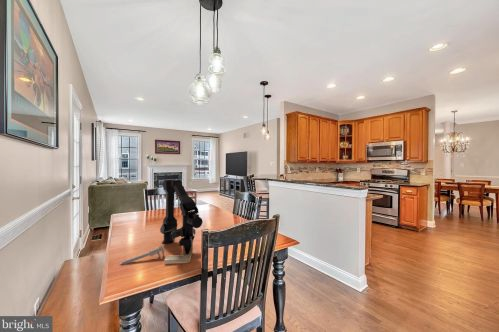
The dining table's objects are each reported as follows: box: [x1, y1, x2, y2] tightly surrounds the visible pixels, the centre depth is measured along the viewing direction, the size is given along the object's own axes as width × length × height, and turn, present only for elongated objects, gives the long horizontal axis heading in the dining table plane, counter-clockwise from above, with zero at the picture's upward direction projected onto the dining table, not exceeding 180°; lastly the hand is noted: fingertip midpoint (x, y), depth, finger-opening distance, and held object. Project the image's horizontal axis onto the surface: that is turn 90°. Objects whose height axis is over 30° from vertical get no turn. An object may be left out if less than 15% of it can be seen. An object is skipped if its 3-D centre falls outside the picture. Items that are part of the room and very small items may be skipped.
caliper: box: [118, 245, 165, 266], centre depth 107 cm, size 20×1×6 cm, turn 119°
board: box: [164, 254, 192, 265], centre depth 106 cm, size 4×12×2 cm, turn 98°
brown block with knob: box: [182, 243, 194, 257], centre depth 113 cm, size 4×4×6 cm
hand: (187, 252), depth 113 cm, fingers closed on brown block with knob, 4 cm apart
